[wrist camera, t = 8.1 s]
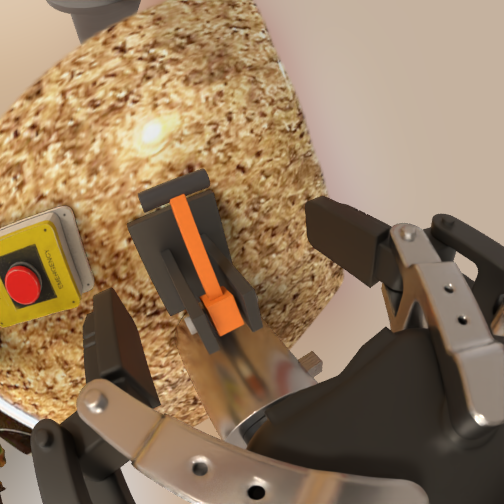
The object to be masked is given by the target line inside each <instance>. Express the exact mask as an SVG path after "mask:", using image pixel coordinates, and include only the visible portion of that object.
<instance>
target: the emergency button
mask: <svg viewBox="0 0 504 504" xmlns="http://www.w3.org/2000/svg"><path fill="white" fill-rule="evenodd" d="M93 286H94V277H93V274H92V271H91V268H90V265H89V263H88V260H87V257H86V254H85V251H84V247H83V244H82V241H81V238H80V234H79V231H78V227H77V224H76V220H75V217H74V213H73V211H72V209H71V208H70V207H68V206H60V207H57V208H54V209H51V210H48V211H45V212H42V213H39V214H36V215H33V216H30V217H28V218H25V219H22V220H20V221H17V222H14V223H12V224H9V225H7V226H4V227H2V228H0V326H1V327H4V328H6V327H9V326H13V325H16V324H20V323H23V322H27V321H30V320H34V319H37V318H41V317H44V316H48V315H51V314H55V313H58V312H62V311H65V310H69V309H72V308H75V307H77V306H79V303H80V300H81V294H82V293H85V292H88V291H90V290H91V289H92V288H93Z"/></svg>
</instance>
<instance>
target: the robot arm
mask: <svg viewBox="0 0 504 504" xmlns="http://www.w3.org/2000/svg"><path fill="white" fill-rule="evenodd" d="M305 214H306V227H307V237H308V240H309V242H310V244H311V245H312V246H313V247H314V248H315V249H316V250H318V251H319V252H321V253H322V254H324V255H325V256H326V257H328V258H329V259H331V260H332V261H333V262H335V263H336V264H338V265H339V266H341V267H342V268H343V269H345V270H347V271H348V272H349V273H350V274H352V275H353V276H355V277H356V278H357V279H359V280H360V281H361V282H363V283H364V284H366V285H367V286H368V287H370V288H371V287H372V286H373V285H375V284H376V283H377V282H379V281H381V282H382V288H381V289H382V293H383V297H384V301H385V305H386V309H387V312H388V317H389V320H390V327H391V330H389V329H388V328H387V327H385V328H383V329H382V330H381V331H380V332H379V333H378V334H376V335H375V336H374V337H373V338H371V339H370V340H369V341H368V342H367V343H365V344H364V345H363V346H362V347H361V348H360V349H359V351H358V352H357V353H356V355H355V356H354V357H353V359H352V360H351V361H350V363H349V364H348V365H347V366H346V368H345V369H344V370H343V371H342V372H341V373H340V374H339V375H338V376H336V377H333V378H331V379H329V380H326V381H324V382H321V383H318V384H316V385H313V386H310V387H307V388H305V389H302V390H299V391H297V392H296V393H294V394H293V395H291V396H289V397H288V398H286V399H284V400H283V401H281V402H279V403H278V404H276V405H274V406H272V407H271V408H269V409H267V410H265V411H264V413H265V415H266V418H267V421H266V422H265V423H264V424H263V425H262V426H261V427H260V428H259V429H258V430H257V431H256V433H255V434H254V435H253V437H252V438H251V440H250V442H249V444H248V446H247V448H246V449H243V448H240V447H238V446H235V445H232V444H230V443H227V442H225V441H223V440H220V439H218V438H215V437H213V436H211V435H209V434H206V433H204V432H202V431H200V430H198V429H195V428H194V427H191V426H189V425H187V424H185V423H183V422H181V421H179V420H178V419H176V418H174V417H172V416H169V415H167V414H164V415H163V414H160V413H159V412H157V411H155V410H153V408H155V407H157V406H160V405H161V403H160V401H159V398H158V395H157V392H156V389H155V386H154V383H153V380H152V377H151V374H150V371H149V368H148V365H147V361H146V358H145V354H144V351H143V347H142V344H141V340H140V336H139V333H138V330H137V327H136V325H135V323H134V321H133V319H132V317H131V316H130V314H129V313H128V311H127V310H126V308H125V306H124V305H123V303H122V302H121V300H120V299H119V297H118V295H117V294H116V292H115V291H114V289H113V288H109V289H107V290H105V291H102V292H100V293H98V294H96V295H94V296H93V309H94V312H92V313H90V314H87V317H86V319H85V322H84V325H83V339H84V340H83V348H84V365H85V377H86V385H85V386H84V387H83V388H82V390H81V391H80V393H79V395H78V398H77V411H76V412H75V413H73V414H72V415H71V416H70V417H68V418H67V419H66V420H65V421H63V422H62V423H61V424H58V423H56V422H55V421H53V420H51V419H43V420H41V421H39V422H38V423H37V424H36V425H35V427H34V429H33V431H32V434H31V449H32V456H33V462H34V467H35V473H36V478H37V482H38V486H39V490H40V494H41V498H42V502H43V504H136V503H135V501H134V499H133V497H132V495H131V493H130V490H129V488H128V486H127V483H126V481H125V479H124V476H123V474H122V471H121V469H120V467H121V466H123V465H124V464H125V463H127V462H128V461H129V460H131V461H132V463H131V464H132V465H133V466H134V467H135V468H136V469H137V470H138V471H140V472H141V473H142V474H144V475H145V476H147V477H148V478H150V479H151V480H153V481H154V482H156V483H158V484H159V485H161V486H162V487H164V488H166V489H167V490H169V491H170V492H172V493H174V494H175V495H177V496H179V497H181V498H183V499H184V500H186V501H188V502H190V503H192V504H504V247H503V246H502V245H500V244H499V243H497V242H496V241H494V240H493V239H491V238H489V237H488V236H486V235H485V234H483V233H481V232H479V231H478V230H476V229H474V228H473V227H471V226H469V225H467V224H466V223H464V222H462V221H460V220H459V219H457V218H455V217H453V216H451V215H447V214H437V215H435V216H433V219H432V224H431V227H430V228H427V229H423V230H422V229H421V228H419V227H417V226H415V225H412V224H408V223H400V224H396V225H394V226H393V227H391V226H389V225H388V224H386V223H384V222H382V221H380V220H378V219H376V218H374V217H372V216H370V215H368V214H367V215H366V214H365V213H364V212H362V211H358V210H357V209H355V208H353V207H351V206H349V205H346V204H341V203H338V202H336V201H334V200H332V199H330V198H327V197H325V196H320V197H318V198H315V199H313V200H310V201H308V202H307V203H306V204H305ZM456 251H457V252H459V253H460V254H462V255H463V256H465V257H467V258H468V259H469V260H471V261H473V262H474V263H475V264H476V266H477V268H478V275H477V278H476V280H475V282H474V281H473V280H471V279H470V278H468V277H467V276H466V275H464V274H463V273H461V271H460V269H459V268H458V266H457V264H456V263H455V262H454V261H453V260H454V257H455V254H456Z"/></svg>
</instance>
